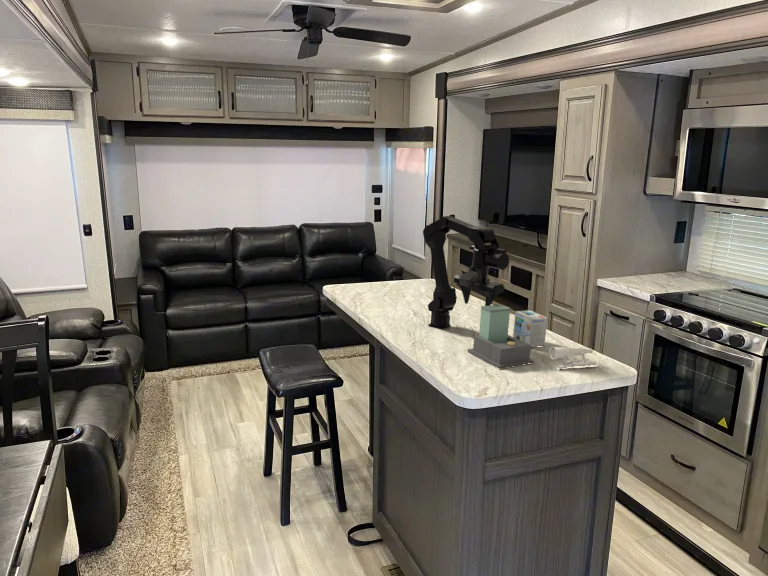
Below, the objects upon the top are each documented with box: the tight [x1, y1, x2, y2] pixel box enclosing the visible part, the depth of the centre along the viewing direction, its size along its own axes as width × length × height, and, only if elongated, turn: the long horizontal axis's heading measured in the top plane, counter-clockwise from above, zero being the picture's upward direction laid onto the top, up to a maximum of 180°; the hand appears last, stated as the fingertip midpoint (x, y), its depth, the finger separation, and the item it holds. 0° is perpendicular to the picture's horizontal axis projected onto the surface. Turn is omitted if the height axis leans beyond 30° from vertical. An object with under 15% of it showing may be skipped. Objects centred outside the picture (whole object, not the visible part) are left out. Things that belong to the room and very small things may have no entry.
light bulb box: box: [512, 309, 548, 348], centre depth 204 cm, size 11×7×11 cm, turn 21°
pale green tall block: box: [478, 304, 511, 344], centre depth 190 cm, size 5×8×15 cm, turn 117°
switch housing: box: [467, 334, 535, 369], centre depth 187 cm, size 17×14×7 cm
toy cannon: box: [549, 345, 598, 368], centre depth 183 cm, size 8×14×5 cm
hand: (476, 306), depth 204 cm, fingers open, 9 cm apart
